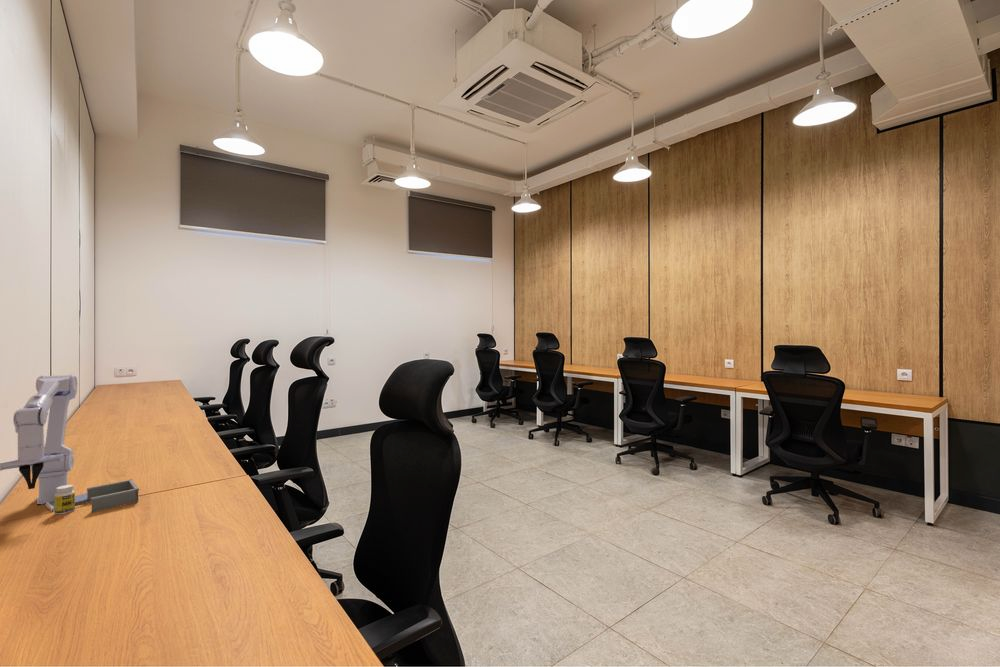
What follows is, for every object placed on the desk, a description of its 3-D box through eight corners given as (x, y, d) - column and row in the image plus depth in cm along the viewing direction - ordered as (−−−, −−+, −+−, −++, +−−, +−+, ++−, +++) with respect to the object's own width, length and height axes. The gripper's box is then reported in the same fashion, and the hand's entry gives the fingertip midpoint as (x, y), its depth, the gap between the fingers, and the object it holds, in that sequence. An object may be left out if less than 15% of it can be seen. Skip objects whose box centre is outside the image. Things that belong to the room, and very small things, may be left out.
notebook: (45, 505, 152) (45, 502, 152) (88, 495, 161) (88, 492, 161) (51, 511, 147) (51, 507, 147) (95, 500, 156) (95, 497, 156)
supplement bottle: (62, 515, 144) (61, 489, 144) (50, 514, 145) (50, 488, 145) (78, 509, 148) (78, 484, 148) (67, 508, 149) (67, 483, 149)
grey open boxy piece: (86, 501, 156) (86, 488, 156) (132, 491, 165) (131, 479, 165) (91, 512, 146) (91, 498, 146) (139, 501, 155) (139, 488, 155)
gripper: (-4, 452, 133) (-4, 497, 133) (63, 443, 143) (64, 485, 143) (-4, 448, 137) (-3, 491, 138) (62, 439, 148) (62, 480, 148)
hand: (31, 488), depth 141 cm, fingers closed
